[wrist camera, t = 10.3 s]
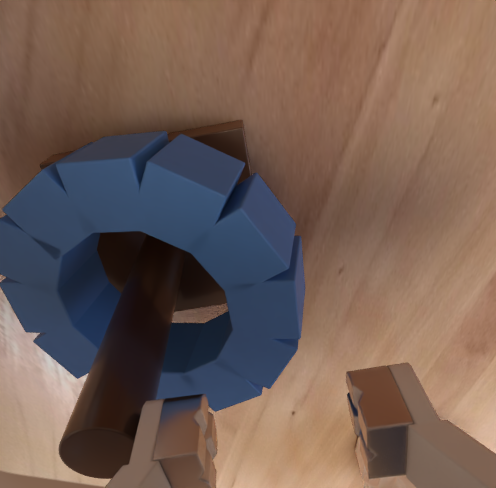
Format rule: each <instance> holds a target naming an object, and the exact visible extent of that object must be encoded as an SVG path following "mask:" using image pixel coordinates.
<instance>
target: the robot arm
mask: <svg viewBox="0 0 496 488" xmlns="http://www.w3.org/2000/svg"><path fill="white" fill-rule="evenodd" d="M346 383H347V386H348V390H349V393H348V394H347V398H348V406H349V412H350V417H351V421H352V425H353V428H354V432H355V434H356V435H357V436H358V437H359V438H360V452H361V455H362V458H363V461H364V465H365V468H366V471H367V474H368V478H369V479H374V478H383V477H393V476H402V475H406V478H407V479H408V480H409V481H410V482H411V483H412V484H413V485H414V486H415V487H416V488H496V454H495V453H494V452H492V451H491V450H489V449H488V448H487V447H485V446H484V445H482V444H481V443H479V442H478V441H477V440H475V439H474V438H472V437H471V436H469V435H468V434H466V433H465V432H464V431H462V430H461V429H459V428H458V427H456V426H455V425H454V424H452V423H451V422H449V421H448V420H441V421H440V419H439V417H438V415H437V413H436V412H435V410H434V408H433V406H432V404H431V402H430V400H429V398H428V396H427V395H426V393H425V391H424V389H423V387H422V385H421V383H420V381H419V380H418V378H417V376H416V374H415V372H414V370H413V368H412V366H411V365H410V364H409V363H401V364H394V365H388V366H379V367H373V368H367V369H361V370H354V371H348V372H346ZM208 407H209V402H208V399H207V397H206V394H198V395H190V396H181V397H173V398H165V399H159V400H151V401H146V402H145V404H144V406H143V407H142V411H141V415H140V420H139V424H138V428H137V432H136V436H135V441H134V445H133V449H132V453H131V457H130V462H129V464H128V465H123V466H122V467H121V468H120V469H119V471H118V472H117V473H116V474H115V476H114V477H113V478H112V479H111V480H110V482H109V483H108V484H107V485H106V486H105V488H216V469H215V466H214V463H213V459H214V457H215V456H216V454H217V431H216V425H215V420H214V417H213V414H211V413H210V412H208Z"/></svg>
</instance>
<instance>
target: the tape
mask: <svg viewBox="0 0 496 488" xmlns="http://www.w3.org/2000/svg"><path fill="white" fill-rule="evenodd" d="M244 166H245V163H244V162H242V161H240V160H238V159H236V158H233V157H231V156H229V155H227V154H225V153H223V152H220V151H218V150H216V149H214V148H212V147H209V146H207V145H205V144H203V143H201V142H199V141H196V140H194V139H192V138H190V137H188V136H185V135H183V134H179V135H178V136H177V137H176V138H175V139H173V140H172V141H171V142H170V143H169V140H168V135H167V132H166V131H157V132H147V133H137V134H127V135H117V136H106V137H103V138H101V139H99V140H97V141H96V142H94V143H93V142H90V143H89V144H87V145H85V146H83V147H82V148H80V149H78V150H76V151H74V152H73V153H71V154H69V155H67V156H66V157H64V158H62V159H60V160H58V161H57V162H55V163H53V164H51V165H49V166H48V167H46V168H44V169H42V170H41V171H40V172H39V173H38V174H37V175H36V176H35V177H34V178H33V179H32V180H31V181H30V182H29V183H28V184H27V185H26V186H25V187H24V188H23V189H22V190H21V191H20V192H19V193H18V194H17V195H16V196H15V197H14V198H13V199H12V200H11V201H10V202H9V203H8V204H7V205H6V206H5V207H4V208H3V209H2V210H3V211H4V212H5V213H6V214H7V215H5V216H4V217H2V218H0V274H1V275H3V276H5V277H6V278H5V279H4V280H2V281H1V282H0V286H1V288H2V290H3V292H4V294H5V295H6V297H7V299H8V301H9V303H10V305H11V306H12V308H13V310H14V312H15V314H16V315H17V317H18V319H19V321H20V323H21V325H22V326H23V328H24V330H25V332H33V333H40V334H39V335H38V336H37V337H36V338H35V340H34V341H33V342H34V343H35V344H37V345H38V346H39V347H40V348H41V349H43V350H44V351H45V352H46V353H47V354H49V355H50V356H51V357H52V358H53V359H54V360H56V361H57V362H58V363H59V364H60V365H62V366H63V367H64V368H65V369H66V370H67V371H69V372H70V373H71V374H72V375H73V376H75V377H76V378H77V379H78V378H80V377H82V376H84V375H86V374H88V373H89V371H90V369H91V366H92V364H93V361H94V359H95V357H96V354H97V352H98V349H99V347H100V344H101V342H102V340H103V337H104V335H105V332H106V330H107V328H108V325H109V323H110V320H111V318H112V315H113V313H114V311H115V308H116V306H117V303H118V301H119V298H120V296H121V293H120V292H119V291H118V290H117V289H116V288H115V287H114V286H113V285H112V284H111V283H110V282H109V280H108V278H107V275H106V273H105V270H104V267H103V265H102V262H101V259H100V257H99V254H98V251H97V246H98V242H99V237H100V233H105V232H131V231H141V232H144V233H146V234H148V235H150V236H153V237H155V238H157V239H159V240H162V241H164V242H166V243H168V244H171V245H173V246H175V247H178V248H180V249H182V250H184V251H187V252H189V253H191V254H192V255H193V256H194V257H195V259H196V260H197V261H198V262H199V263H200V264H201V265H202V266H203V267H204V269H205V270H206V271H207V272H208V273H209V274H210V275H211V276H212V277H213V279H214V280H215V281H216V282H217V283H218V284H219V285H220V286H221V287H222V289H223V290H224V291H225V296H226V301H227V306H228V312H226V313H224V314H222V315H220V316H218V317H216V318H214V319H212V320H210V321H208V322H206V323H172V324H171V329H170V333H169V338H168V343H167V348H166V353H165V358H164V363H163V368H162V373H161V377H160V382H159V387H158V392H157V397H156V400H159V399H165V398H173V397H181V396H190V395H198V394H206V397H207V399H208V402H209V407H210V408H212V409H213V410H214V411H219V410H221V409H224V408H227V407H230V406H232V405H235V404H238V403H241V402H243V401H246V400H249V399H252V398H255V397H257V396H260V395H261V394H262V389H263V387H266V388H268V389H270V388H271V386H272V385H273V384H274V382H275V381H276V379H277V378H278V377H279V375H280V374H281V372H282V371H283V370H284V368H285V367H286V365H287V364H288V363H289V361H290V360H291V358H292V357H293V356H294V354H295V353H296V351H297V349H298V339H300V338H301V329H302V318H303V307H304V296H305V279H304V266H303V253H302V241H301V236H294V234H295V228H296V223H295V222H294V221H293V219H292V218H291V217H290V215H289V214H288V213H287V211H286V210H285V209H284V207H283V206H282V205H281V203H280V202H279V201H278V199H277V198H276V197H275V196H274V194H273V193H272V192H271V190H270V189H269V188H268V186H267V185H266V184H265V182H264V181H263V180H262V178H261V177H260V176H259V174H258V173H254V174H253V175H251V176H250V177H248V178H247V179H245V180H244V181H242V182H241V183H239V184H238V185H237V183H238V180H239V178H240V176H241V173H242V171H243V168H244Z"/></svg>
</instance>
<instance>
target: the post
mask: <svg viewBox="0 0 496 488" xmlns="http://www.w3.org/2000/svg"><path fill="white" fill-rule="evenodd" d="M179 134H183V135H185V136H188V137H190V138H192V139H194V140H196V141H199V142H201V143H203V144H205V145H207V146H209V147H212V148H214V149H216V150H218V151H220V152H223V153H225V154H227V155H229V156H231V157H233V158H236V159H238V160H240V161H242V162H244V163H245V166H244V168H243V171H242V173H241V176H240V178H239V180H238V183H237V185H238V184H239V183H241V182H242V181H244V180H245V179H247V178H248V177H250V176H251V175H252V173H251V167H250V161H249V156H248V150H247V144H246V138H245V133H244V127H243V121H242V120H239V121H233V122H228V123H223V124H217V125H212V126H206V127H201V128H196V129H190V130H185V131H179V132H174V133H169V134H167V135H168V140H169V143H170V142H171V141H172V140H173V139H175V138H176V137H177V136H178V135H179ZM73 152H74V151H72V152H66V153H61V154H55V155H52V156H51V157H50V158H48V159H47V160H46V161H44V162H43V163H41V164H40V167H41V170H42V169H44V168H46V167H48V166H49V165H51V164H53V163H55V162H57V161H58V160H60V159H62V158H64V157H66V156H67V155H69V154H71V153H73ZM97 251H98V254H99V257H100V259H101V262H102V265H103V267H104V270H105V273H106V275H107V278H108V280H109V282H110V283H111V284H112V285H113V286H114V287H115V288H116V289H117V290H118V291H119V292H120V293H121V296H120V298H119V301H118V303H117V306H116V308H115V311H114V313H113V315H112V318H111V320H110V323H109V325H108V328H107V330H106V332H105V335H104V337H103V340H102V342H101V344H100V347H99V349H98V352H97V354H96V357H95V359H94V361H93V364H92V366H91V369H90V371H89V374H88V376H87V378H86V381H85V383H84V386H83V388H82V391H81V393H80V395H79V398H78V400H77V403H76V405H75V408H74V410H73V412H72V415H71V417H70V420H69V422H68V424H67V427H66V429H65V432H64V434H63V437H62V439H61V441H60V444H59V455H60V457H61V459H62V461H63V462H64V463H65V464H66V465H67V466H68V467H69V468H71V469H72V470H74V471H76V472H78V473H80V474H83V475H85V476H89V477H94V478H102V479H111V478H113V477H114V476H115V474H116V473H117V472H118V471H119V469H120V468H121V467H122V466H123V465H128V464H129V462H130V457H131V453H132V449H133V445H134V441H135V436H136V432H137V428H138V424H139V420H140V415H141V411H142V407H143V406H144V404H145V402H146V401H151V400H156V397H157V392H158V387H159V382H160V377H161V373H162V368H163V363H164V358H165V353H166V348H167V343H168V338H169V333H170V329H171V324H172V319H173V314H174V312H175V311H182V310H188V309H194V308H200V307H207V306H213V305H219V304H225V303H227V301H226V296H225V291H224V290H223V289H222V287H221V286H220V285H219V284H218V283H217V282H216V281H215V280H214V279H213V277H212V276H211V275H210V274H209V273H208V272H207V271H206V270H205V269H204V267H203V266H202V265H201V264H200V263H199V262H198V261H197V260H196V259H195V257H194V256H193V255H192V254H191V253H189V252H187V251H184V250H182V249H180V248H178V247H175V246H173V245H171V244H168V243H166V242H164V241H162V240H159V239H157V238H155V237H153V236H150V235H148V234H146V233H144V232H141V231H131V232H105V233H100V237H99V242H98V246H97Z"/></svg>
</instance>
